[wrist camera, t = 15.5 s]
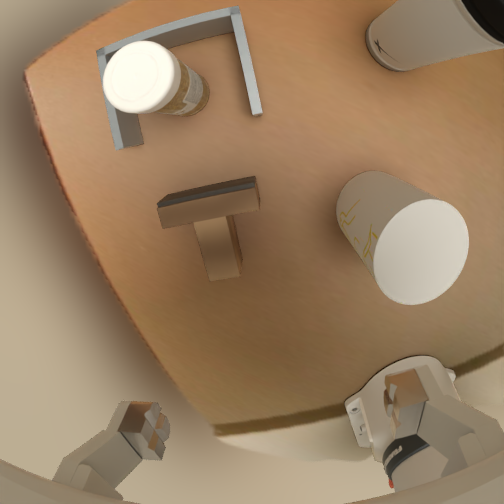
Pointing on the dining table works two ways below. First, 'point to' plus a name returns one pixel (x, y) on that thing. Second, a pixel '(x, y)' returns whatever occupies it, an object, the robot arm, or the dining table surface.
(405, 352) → the dining table surface
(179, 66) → the sprinkles bottle
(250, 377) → the dining table surface
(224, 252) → the scraper
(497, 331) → the dining table surface
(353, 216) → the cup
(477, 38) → the travel mug
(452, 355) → the dining table surface
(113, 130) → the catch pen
